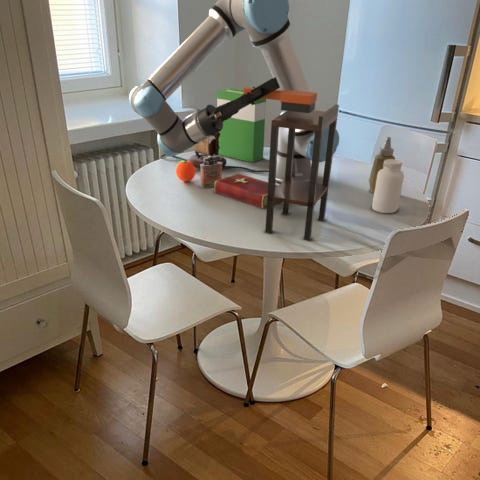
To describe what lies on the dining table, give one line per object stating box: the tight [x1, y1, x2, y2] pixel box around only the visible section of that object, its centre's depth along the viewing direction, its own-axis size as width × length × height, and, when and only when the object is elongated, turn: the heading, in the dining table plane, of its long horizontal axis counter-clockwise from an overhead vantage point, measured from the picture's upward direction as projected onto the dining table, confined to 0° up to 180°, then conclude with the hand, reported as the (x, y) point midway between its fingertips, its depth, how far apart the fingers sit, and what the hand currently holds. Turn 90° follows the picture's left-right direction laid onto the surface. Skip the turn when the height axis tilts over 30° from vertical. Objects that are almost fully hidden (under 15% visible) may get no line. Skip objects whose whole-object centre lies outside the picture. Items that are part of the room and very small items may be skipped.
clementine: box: [175, 160, 196, 182], centre depth 179 cm, size 8×7×7 cm
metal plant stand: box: [264, 104, 340, 241], centre depth 141 cm, size 13×17×32 cm
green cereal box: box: [216, 87, 267, 163], centre depth 202 cm, size 18×7×24 cm, turn 55°
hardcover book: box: [213, 173, 280, 209], centre depth 169 cm, size 12×21×4 cm, turn 49°
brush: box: [242, 86, 318, 113], centre depth 133 cm, size 19×6×4 cm, turn 68°
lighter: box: [200, 155, 223, 189], centre depth 175 cm, size 8×3×10 cm, turn 117°
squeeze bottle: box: [368, 136, 396, 194], centre depth 171 cm, size 8×8×18 cm
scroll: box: [187, 108, 227, 169], centre depth 190 cm, size 15×15×20 cm
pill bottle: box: [371, 158, 405, 214], centre depth 158 cm, size 8×8×15 cm
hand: (275, 83), depth 131 cm, fingers closed on brush, 2 cm apart
